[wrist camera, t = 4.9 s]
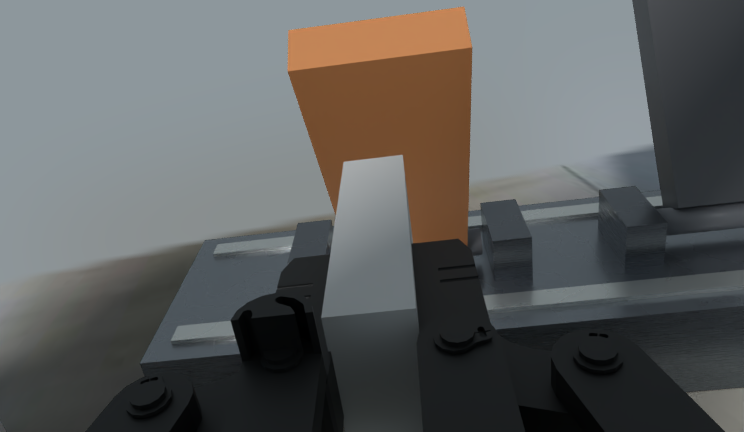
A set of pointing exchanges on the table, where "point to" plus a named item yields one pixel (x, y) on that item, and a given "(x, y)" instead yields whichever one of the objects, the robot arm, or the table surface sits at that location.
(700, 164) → the lever on
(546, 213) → the grey slotted holder
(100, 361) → the table surface
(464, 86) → the lever
